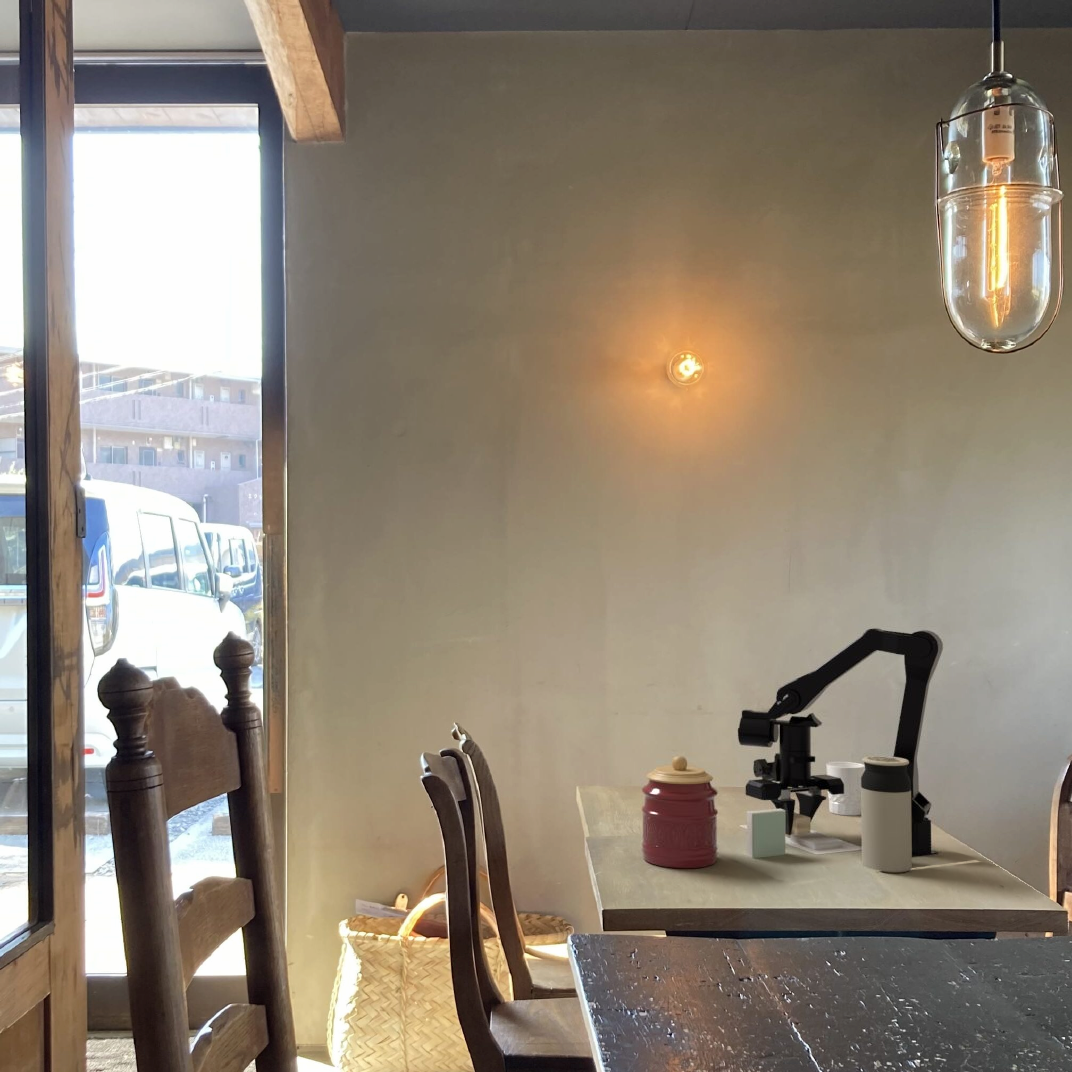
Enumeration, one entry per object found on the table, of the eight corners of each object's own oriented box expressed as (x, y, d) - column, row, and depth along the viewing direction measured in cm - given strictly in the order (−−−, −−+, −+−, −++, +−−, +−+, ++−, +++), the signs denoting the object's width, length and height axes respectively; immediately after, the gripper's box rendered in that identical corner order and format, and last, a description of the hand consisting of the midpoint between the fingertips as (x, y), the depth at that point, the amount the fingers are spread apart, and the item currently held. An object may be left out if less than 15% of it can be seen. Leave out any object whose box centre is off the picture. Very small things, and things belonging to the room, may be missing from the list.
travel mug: (879, 875, 168) (878, 763, 169) (852, 862, 176) (851, 756, 177) (922, 872, 170) (920, 762, 171) (893, 860, 178) (891, 754, 179)
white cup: (861, 809, 220) (860, 762, 221) (869, 817, 212) (868, 768, 213) (823, 808, 221) (823, 761, 222) (830, 816, 213) (829, 767, 214)
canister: (721, 853, 181) (721, 752, 182) (713, 872, 169) (713, 763, 170) (648, 848, 185) (648, 748, 186) (635, 866, 172) (635, 759, 173)
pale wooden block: (842, 847, 185) (841, 824, 185) (814, 850, 182) (814, 827, 183) (790, 829, 199) (790, 808, 199) (764, 832, 196) (764, 810, 196)
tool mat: (867, 851, 184) (867, 848, 184) (817, 856, 180) (817, 854, 180) (784, 823, 206) (784, 821, 206) (738, 827, 202) (738, 825, 202)
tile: (786, 856, 179) (786, 810, 180) (752, 860, 177) (752, 813, 177) (780, 854, 181) (780, 808, 181) (746, 858, 178) (746, 811, 179)
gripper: (808, 741, 204) (809, 821, 203) (728, 746, 197) (728, 828, 196) (845, 749, 194) (846, 833, 193) (763, 754, 187) (763, 841, 186)
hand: (795, 833), depth 192 cm, fingers closed on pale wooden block, 3 cm apart
